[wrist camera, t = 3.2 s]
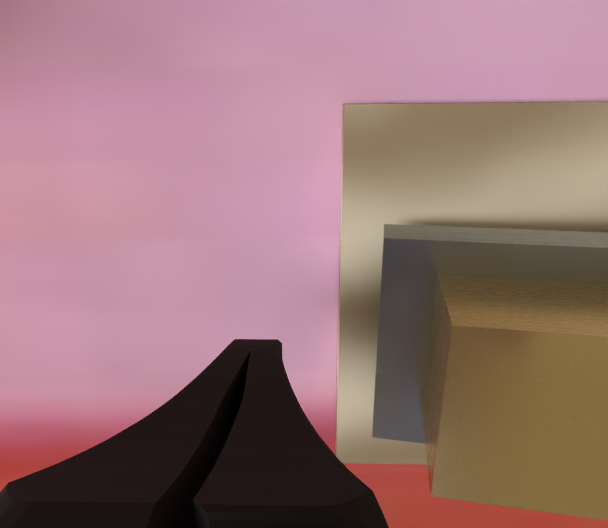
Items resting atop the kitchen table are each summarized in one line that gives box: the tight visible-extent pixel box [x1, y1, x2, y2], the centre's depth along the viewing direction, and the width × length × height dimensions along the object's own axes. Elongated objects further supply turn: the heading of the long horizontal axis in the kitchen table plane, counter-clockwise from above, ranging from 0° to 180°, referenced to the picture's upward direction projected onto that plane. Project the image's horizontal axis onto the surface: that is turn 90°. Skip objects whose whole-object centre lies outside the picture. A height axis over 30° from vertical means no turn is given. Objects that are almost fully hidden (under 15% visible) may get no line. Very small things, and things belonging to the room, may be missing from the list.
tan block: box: [422, 275, 608, 521], centre depth 11 cm, size 5×6×3 cm
